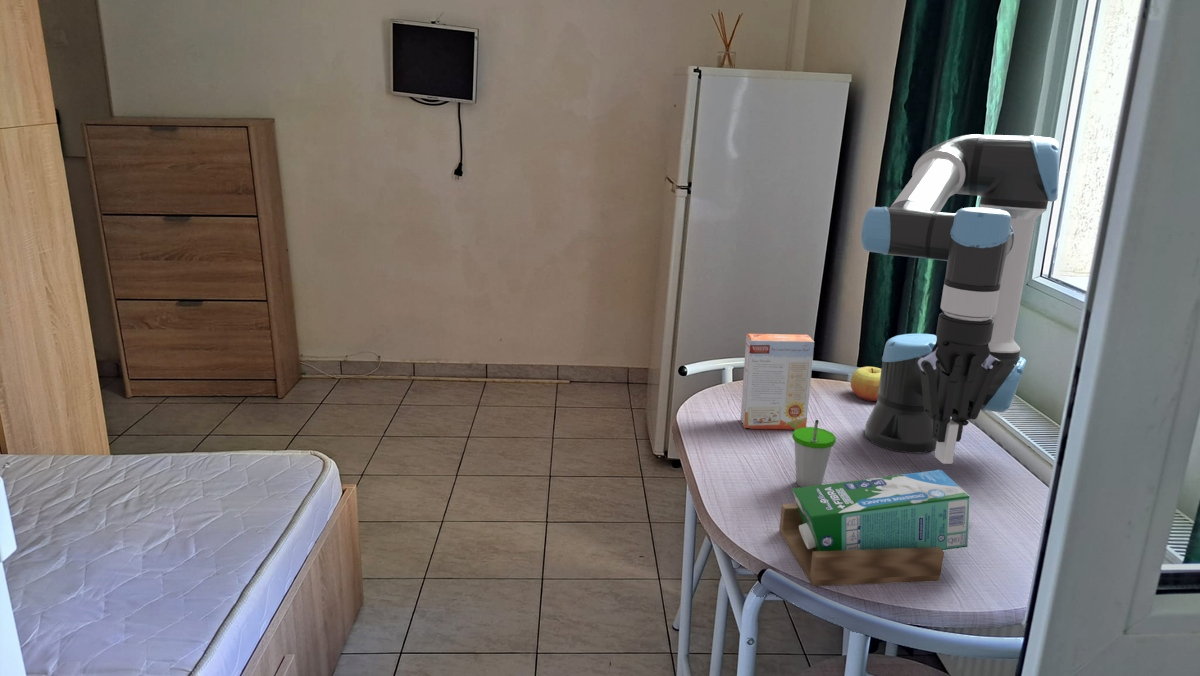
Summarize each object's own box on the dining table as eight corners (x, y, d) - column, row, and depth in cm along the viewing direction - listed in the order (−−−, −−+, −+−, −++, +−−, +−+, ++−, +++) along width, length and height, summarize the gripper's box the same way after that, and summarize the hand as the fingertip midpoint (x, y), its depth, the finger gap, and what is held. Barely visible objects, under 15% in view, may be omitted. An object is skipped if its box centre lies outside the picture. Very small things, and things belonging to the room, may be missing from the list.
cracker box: (800, 420, 179) (809, 333, 173) (806, 431, 174) (816, 341, 168) (739, 419, 179) (746, 331, 173) (743, 429, 174) (750, 339, 168)
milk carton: (939, 517, 130) (792, 536, 129) (941, 468, 127) (790, 488, 126) (968, 547, 121) (810, 568, 120) (970, 495, 119) (809, 516, 118)
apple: (851, 403, 191) (855, 372, 189) (846, 389, 200) (850, 359, 198) (893, 406, 189) (898, 375, 187) (886, 392, 199) (890, 362, 196)
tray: (892, 526, 134) (895, 500, 133) (939, 581, 119) (944, 552, 118) (779, 530, 132) (781, 504, 131) (812, 586, 117) (816, 557, 116)
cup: (801, 471, 154) (809, 400, 150) (837, 485, 149) (846, 412, 144) (779, 484, 149) (786, 411, 144) (816, 499, 143) (824, 423, 139)
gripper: (993, 307, 120) (969, 448, 126) (912, 308, 118) (892, 450, 125) (1023, 320, 113) (996, 469, 119) (938, 321, 111) (915, 471, 118)
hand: (943, 459), depth 122 cm, fingers closed
